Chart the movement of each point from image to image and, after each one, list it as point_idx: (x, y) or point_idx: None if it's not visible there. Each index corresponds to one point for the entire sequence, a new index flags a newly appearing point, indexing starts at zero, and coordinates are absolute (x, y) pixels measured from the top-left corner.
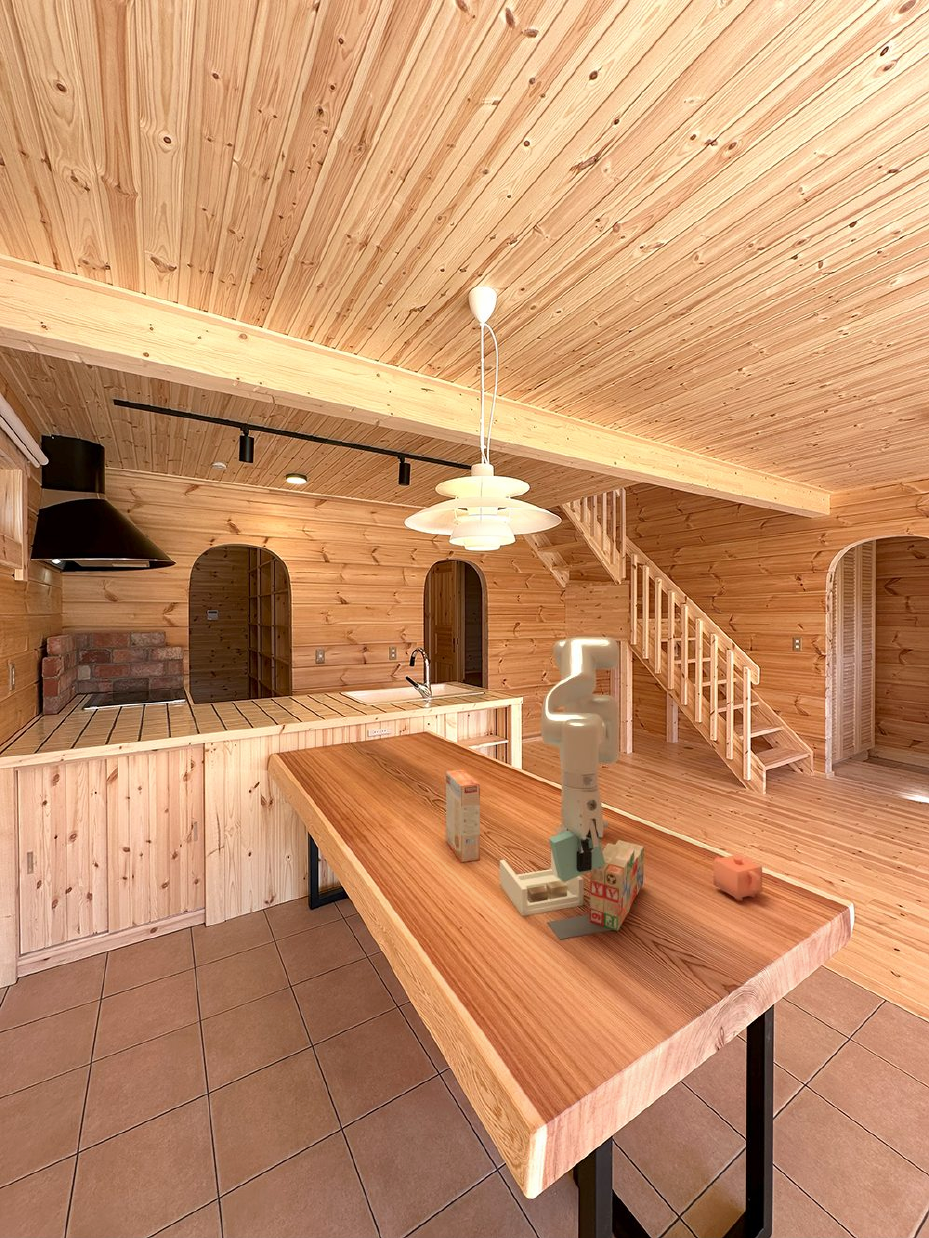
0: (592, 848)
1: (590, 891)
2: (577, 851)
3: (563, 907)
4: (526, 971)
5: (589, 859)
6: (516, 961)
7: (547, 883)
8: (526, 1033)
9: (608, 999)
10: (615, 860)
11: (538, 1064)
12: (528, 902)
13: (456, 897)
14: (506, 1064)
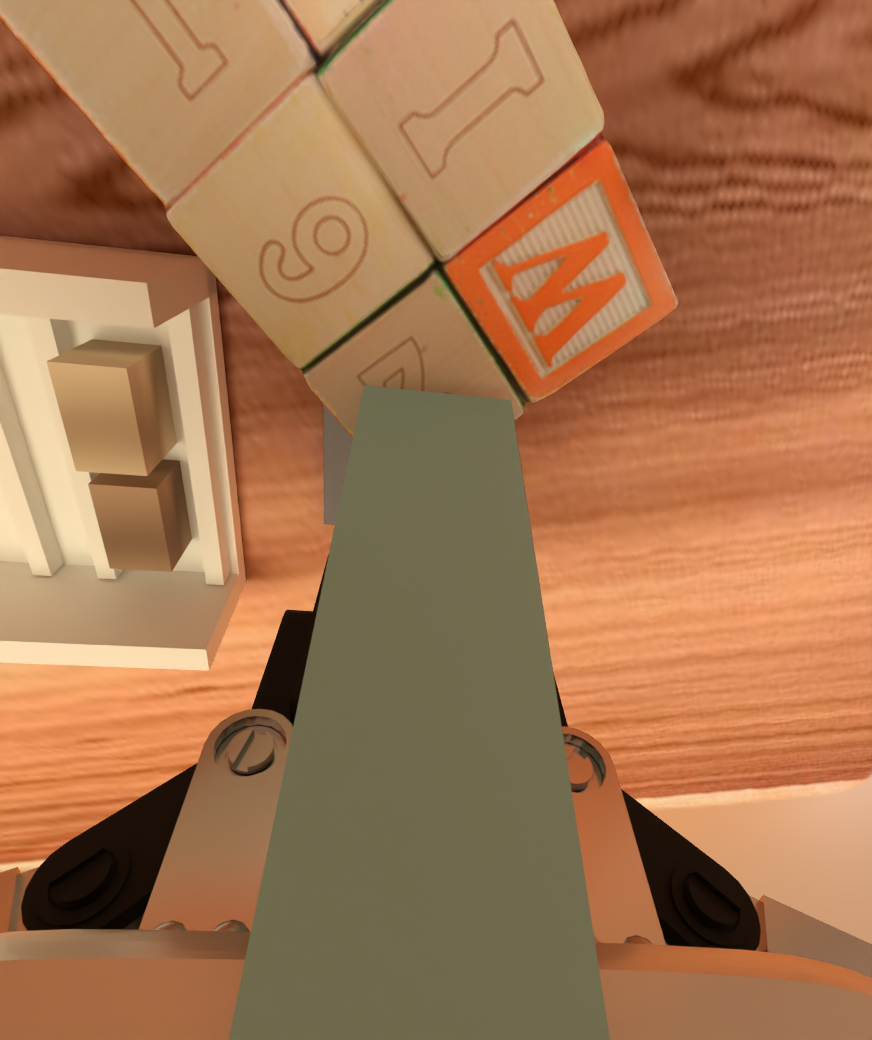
0: (687, 851)
1: None
2: None
3: (225, 394)
4: None
5: (555, 686)
6: None
7: (84, 467)
8: (705, 743)
9: (774, 538)
10: (411, 115)
11: (781, 750)
12: None
13: (61, 722)
14: (737, 789)
